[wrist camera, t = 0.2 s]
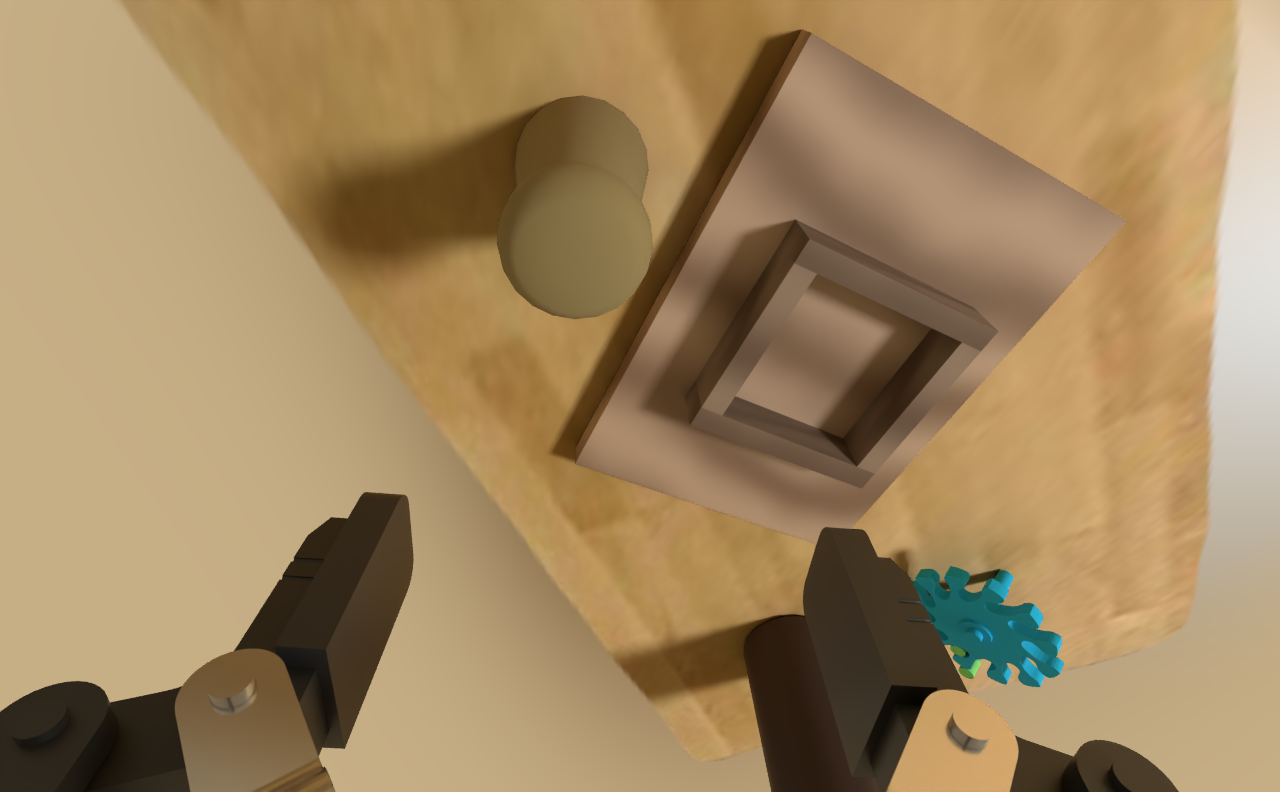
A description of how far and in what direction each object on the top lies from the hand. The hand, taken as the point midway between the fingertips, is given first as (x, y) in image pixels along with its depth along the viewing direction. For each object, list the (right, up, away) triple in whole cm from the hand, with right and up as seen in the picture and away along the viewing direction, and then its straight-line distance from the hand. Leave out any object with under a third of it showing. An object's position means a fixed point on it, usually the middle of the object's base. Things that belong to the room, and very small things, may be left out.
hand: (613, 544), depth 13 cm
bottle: (+12, -16, +38) cm, 43 cm away
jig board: (+10, +6, +23) cm, 26 cm away
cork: (-2, +13, +17) cm, 22 cm away
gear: (+23, -11, +35) cm, 44 cm away
